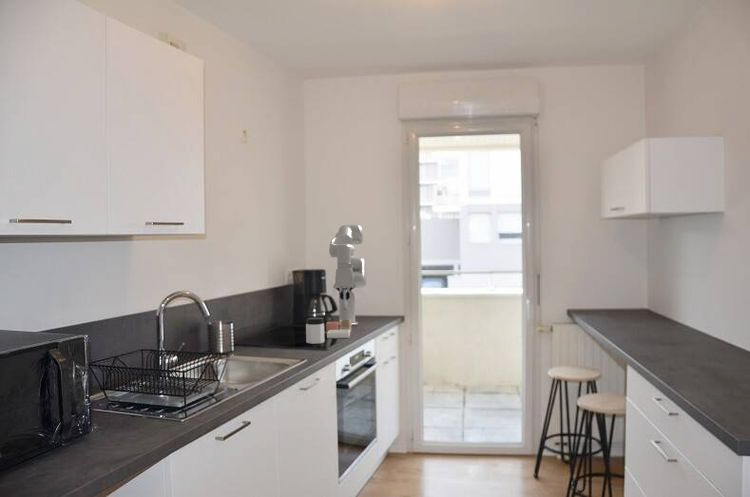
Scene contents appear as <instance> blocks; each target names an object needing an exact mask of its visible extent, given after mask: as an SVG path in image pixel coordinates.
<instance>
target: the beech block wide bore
mask: <svg viewBox="0 0 750 497" xmlns="http://www.w3.org/2000/svg"><path fill="white" fill-rule="evenodd" d="M339 322H340V325H339V330H350V333H352V325H351V320H340V319H339Z"/></svg>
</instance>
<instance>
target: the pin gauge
mask: <svg viewBox="0 0 750 497" xmlns="http://www.w3.org/2000/svg"><path fill="white" fill-rule="evenodd" d="M342 293H343V310H347V309H348V308H347V288H342Z"/></svg>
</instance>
